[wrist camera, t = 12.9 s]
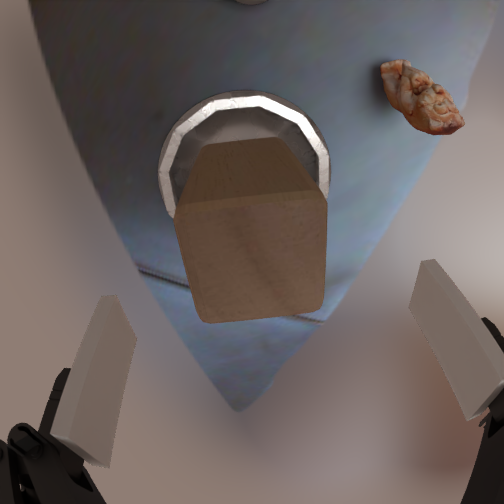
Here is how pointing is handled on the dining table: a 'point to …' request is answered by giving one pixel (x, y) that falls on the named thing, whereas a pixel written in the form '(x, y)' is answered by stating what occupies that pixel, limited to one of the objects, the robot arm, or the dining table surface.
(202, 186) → the block
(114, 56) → the dining table surface
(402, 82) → the figurine
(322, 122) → the dining table surface
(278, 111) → the metallic bowl
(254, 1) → the white domed cylinder
